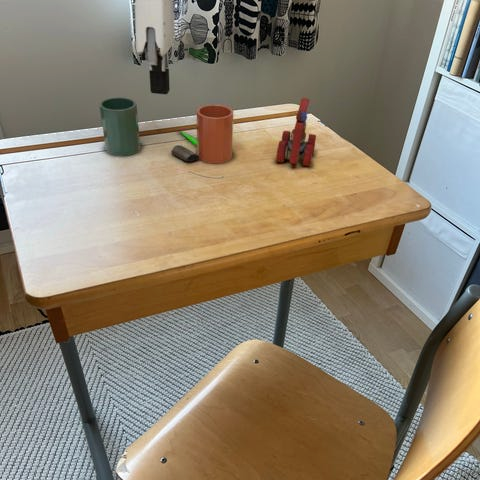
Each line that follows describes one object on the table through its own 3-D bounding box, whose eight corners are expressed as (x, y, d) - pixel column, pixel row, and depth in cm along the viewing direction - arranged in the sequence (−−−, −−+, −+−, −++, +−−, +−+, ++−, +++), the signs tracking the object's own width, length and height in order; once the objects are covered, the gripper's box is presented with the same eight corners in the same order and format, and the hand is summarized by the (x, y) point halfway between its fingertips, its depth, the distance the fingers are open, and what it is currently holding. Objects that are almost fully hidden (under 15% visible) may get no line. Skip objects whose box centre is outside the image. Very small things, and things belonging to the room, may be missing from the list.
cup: (195, 162, 102) (194, 116, 96) (200, 147, 107) (199, 103, 101) (229, 164, 102) (231, 119, 96) (233, 149, 107) (234, 106, 101)
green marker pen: (181, 132, 113) (181, 128, 112) (216, 156, 105) (216, 153, 104) (177, 133, 112) (177, 129, 112) (212, 157, 104) (212, 154, 104)
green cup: (101, 154, 103) (94, 109, 97) (111, 140, 108) (105, 96, 102) (135, 157, 103) (131, 112, 97) (143, 142, 108) (139, 98, 102)
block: (186, 165, 101) (186, 156, 100) (169, 154, 104) (169, 145, 103) (201, 160, 103) (201, 152, 102) (184, 149, 106) (183, 141, 105)
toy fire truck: (273, 169, 101) (278, 116, 94) (283, 143, 110) (288, 93, 103) (308, 173, 101) (316, 121, 93) (315, 147, 110) (322, 97, 102)
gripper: (142, -37, 87) (149, 77, 100) (119, -21, 76) (129, 105, 89) (185, -33, 87) (187, 81, 99) (168, -17, 76) (172, 109, 88)
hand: (160, 92), depth 94 cm, fingers closed
